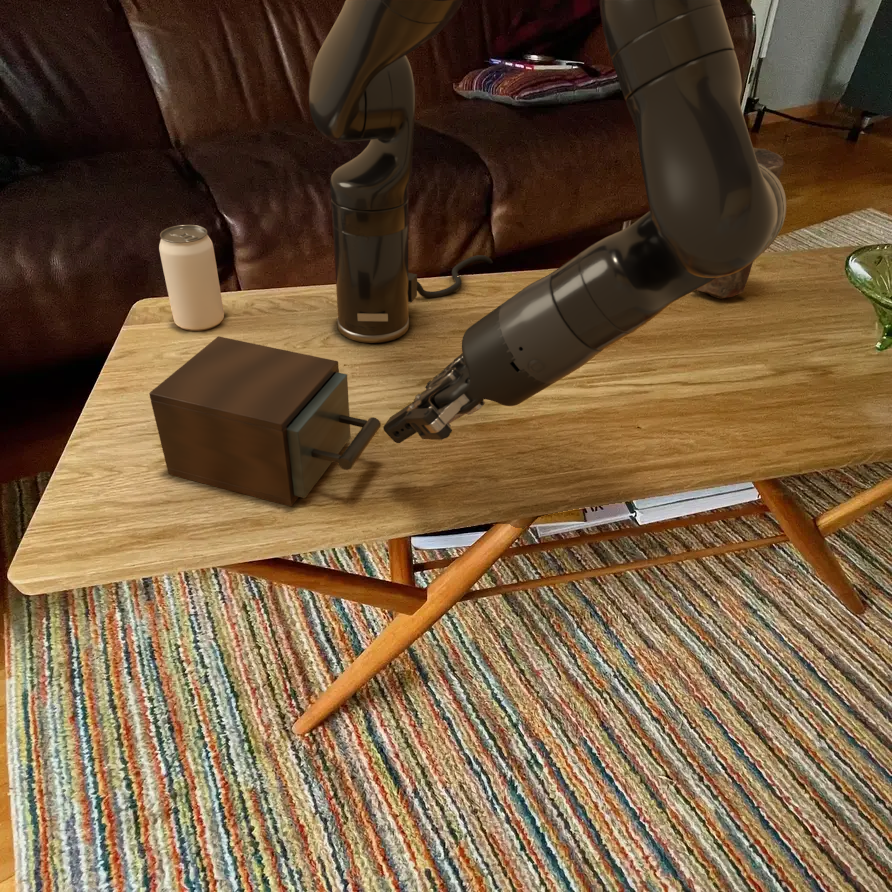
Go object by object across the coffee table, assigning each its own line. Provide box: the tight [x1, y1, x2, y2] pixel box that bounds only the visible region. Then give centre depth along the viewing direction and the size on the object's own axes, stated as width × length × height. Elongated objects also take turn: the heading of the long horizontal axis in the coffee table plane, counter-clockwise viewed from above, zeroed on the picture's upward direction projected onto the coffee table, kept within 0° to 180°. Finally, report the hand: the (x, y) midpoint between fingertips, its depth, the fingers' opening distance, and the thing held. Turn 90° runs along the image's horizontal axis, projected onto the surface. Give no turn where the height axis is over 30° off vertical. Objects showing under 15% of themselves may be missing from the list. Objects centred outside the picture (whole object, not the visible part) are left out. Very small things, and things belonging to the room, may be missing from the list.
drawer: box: [287, 372, 382, 499], centre depth 74 cm, size 17×10×8 cm, turn 71°
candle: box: [695, 147, 785, 299], centre depth 107 cm, size 8×7×20 cm
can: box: [158, 224, 225, 332], centre depth 97 cm, size 6×6×12 cm
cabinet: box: [148, 336, 340, 507], centre depth 75 cm, size 14×12×10 cm
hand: (392, 432), depth 70 cm, fingers closed
